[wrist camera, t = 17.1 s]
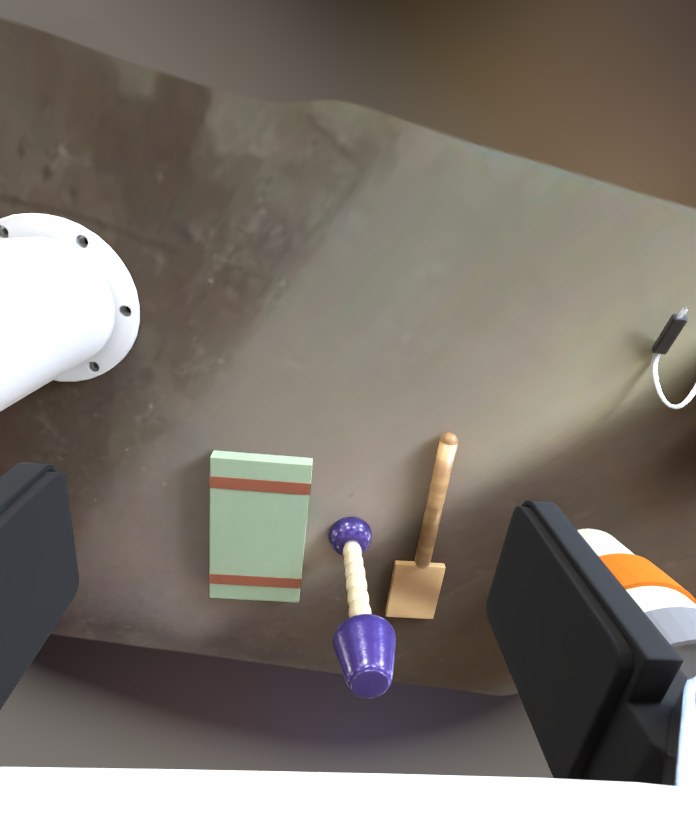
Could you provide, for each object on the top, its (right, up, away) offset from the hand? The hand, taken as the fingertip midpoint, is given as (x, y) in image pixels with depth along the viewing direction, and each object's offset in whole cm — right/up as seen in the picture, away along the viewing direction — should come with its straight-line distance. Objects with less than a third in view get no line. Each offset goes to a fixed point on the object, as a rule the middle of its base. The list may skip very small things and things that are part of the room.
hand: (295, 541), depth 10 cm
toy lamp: (+2, -9, +37) cm, 38 cm away
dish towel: (-8, -8, +36) cm, 38 cm away
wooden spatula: (+9, -9, +37) cm, 39 cm away
